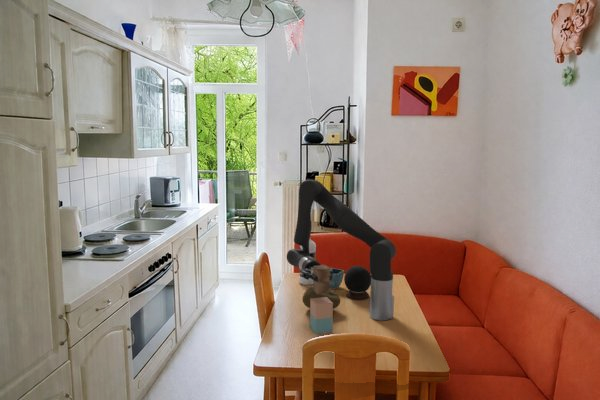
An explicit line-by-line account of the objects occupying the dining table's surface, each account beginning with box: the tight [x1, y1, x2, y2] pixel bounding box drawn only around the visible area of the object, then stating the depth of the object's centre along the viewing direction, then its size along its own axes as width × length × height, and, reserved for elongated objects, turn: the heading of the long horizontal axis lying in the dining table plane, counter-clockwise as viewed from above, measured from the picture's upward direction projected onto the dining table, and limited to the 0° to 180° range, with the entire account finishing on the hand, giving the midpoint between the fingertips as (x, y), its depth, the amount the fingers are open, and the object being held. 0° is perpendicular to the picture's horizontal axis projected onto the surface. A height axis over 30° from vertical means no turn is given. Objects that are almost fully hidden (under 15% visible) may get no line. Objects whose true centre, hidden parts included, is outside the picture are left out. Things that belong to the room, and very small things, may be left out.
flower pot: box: [329, 267, 345, 290], centre depth 228 cm, size 9×9×9 cm
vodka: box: [298, 234, 317, 286], centre depth 234 cm, size 9×9×30 cm
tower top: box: [309, 297, 334, 319], centre depth 177 cm, size 7×7×6 cm
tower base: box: [309, 312, 334, 335], centre depth 178 cm, size 7×7×6 cm
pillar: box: [312, 264, 330, 294], centre depth 176 cm, size 5×5×10 cm
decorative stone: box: [302, 285, 341, 310], centre depth 198 cm, size 17×11×10 cm, turn 79°
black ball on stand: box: [343, 265, 371, 301], centre depth 216 cm, size 13×13×15 cm
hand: (323, 278), depth 173 cm, fingers closed on pillar, 5 cm apart
